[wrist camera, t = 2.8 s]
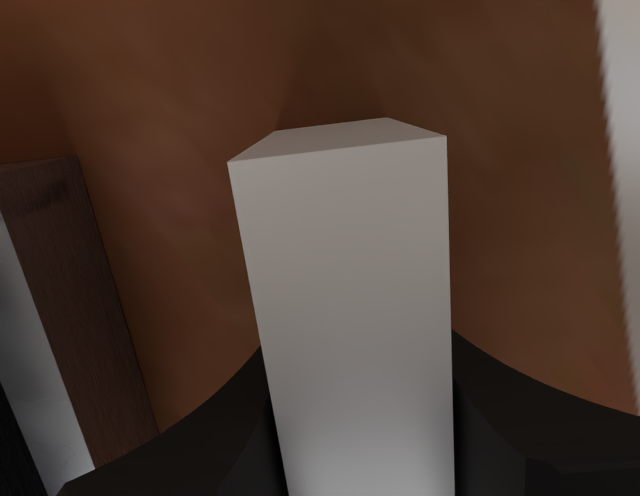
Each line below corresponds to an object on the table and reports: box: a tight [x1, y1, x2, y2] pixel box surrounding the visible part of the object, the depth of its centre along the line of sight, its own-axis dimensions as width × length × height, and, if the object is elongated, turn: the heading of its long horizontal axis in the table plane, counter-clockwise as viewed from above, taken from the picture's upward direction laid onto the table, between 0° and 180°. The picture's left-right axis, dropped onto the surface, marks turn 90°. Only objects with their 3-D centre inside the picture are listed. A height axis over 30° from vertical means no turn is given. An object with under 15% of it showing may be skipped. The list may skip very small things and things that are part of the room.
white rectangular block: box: [227, 117, 455, 496], centre depth 11 cm, size 12×3×6 cm, turn 7°
